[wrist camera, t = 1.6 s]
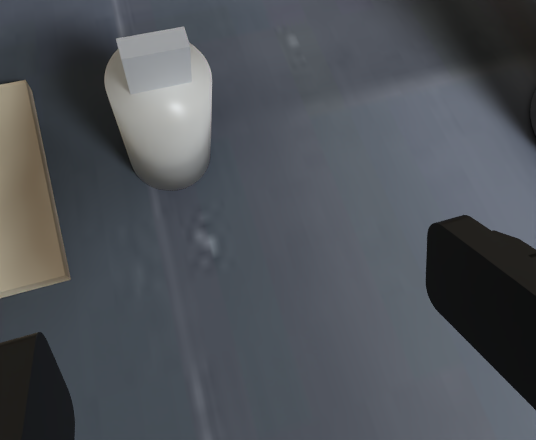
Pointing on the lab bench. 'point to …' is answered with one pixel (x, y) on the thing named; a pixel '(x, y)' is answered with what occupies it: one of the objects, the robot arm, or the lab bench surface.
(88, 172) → the lab bench surface
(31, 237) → the board
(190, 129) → the white bottle
